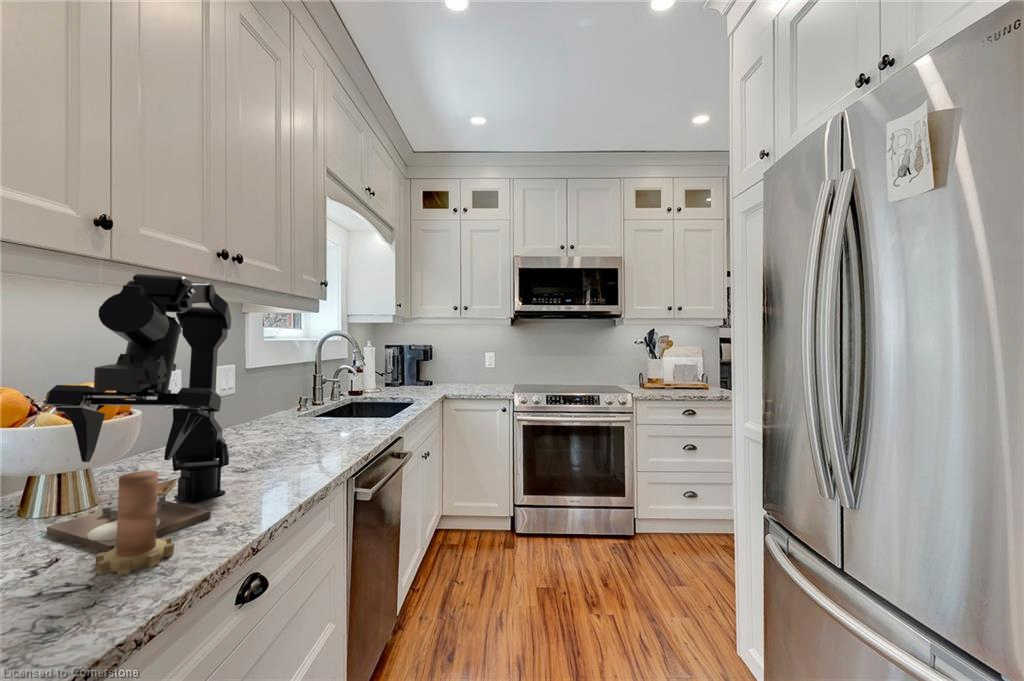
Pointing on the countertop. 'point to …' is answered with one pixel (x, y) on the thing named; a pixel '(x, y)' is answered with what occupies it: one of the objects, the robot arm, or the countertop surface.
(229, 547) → the countertop surface
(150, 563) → the gear spindle
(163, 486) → the shard
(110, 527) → the gear board
